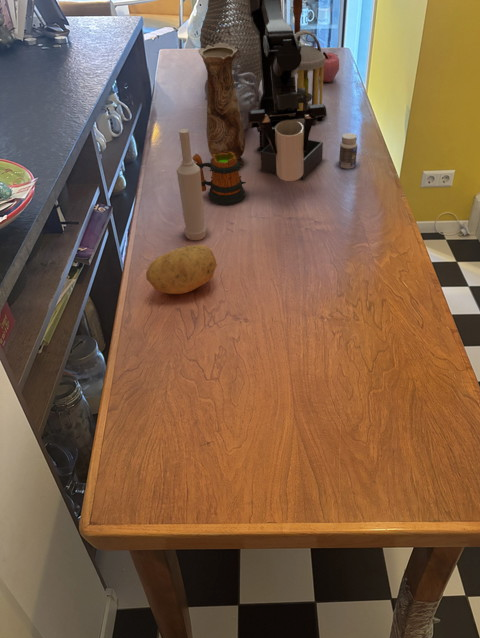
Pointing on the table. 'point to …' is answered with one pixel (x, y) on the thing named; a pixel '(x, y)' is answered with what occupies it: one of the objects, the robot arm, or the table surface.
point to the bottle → (190, 191)
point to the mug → (223, 178)
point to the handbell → (297, 17)
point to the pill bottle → (348, 151)
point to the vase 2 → (222, 102)
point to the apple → (330, 67)
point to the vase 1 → (249, 35)
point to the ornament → (244, 94)
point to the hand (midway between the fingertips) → (290, 153)
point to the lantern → (309, 61)
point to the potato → (182, 269)
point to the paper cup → (289, 149)
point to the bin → (310, 158)
